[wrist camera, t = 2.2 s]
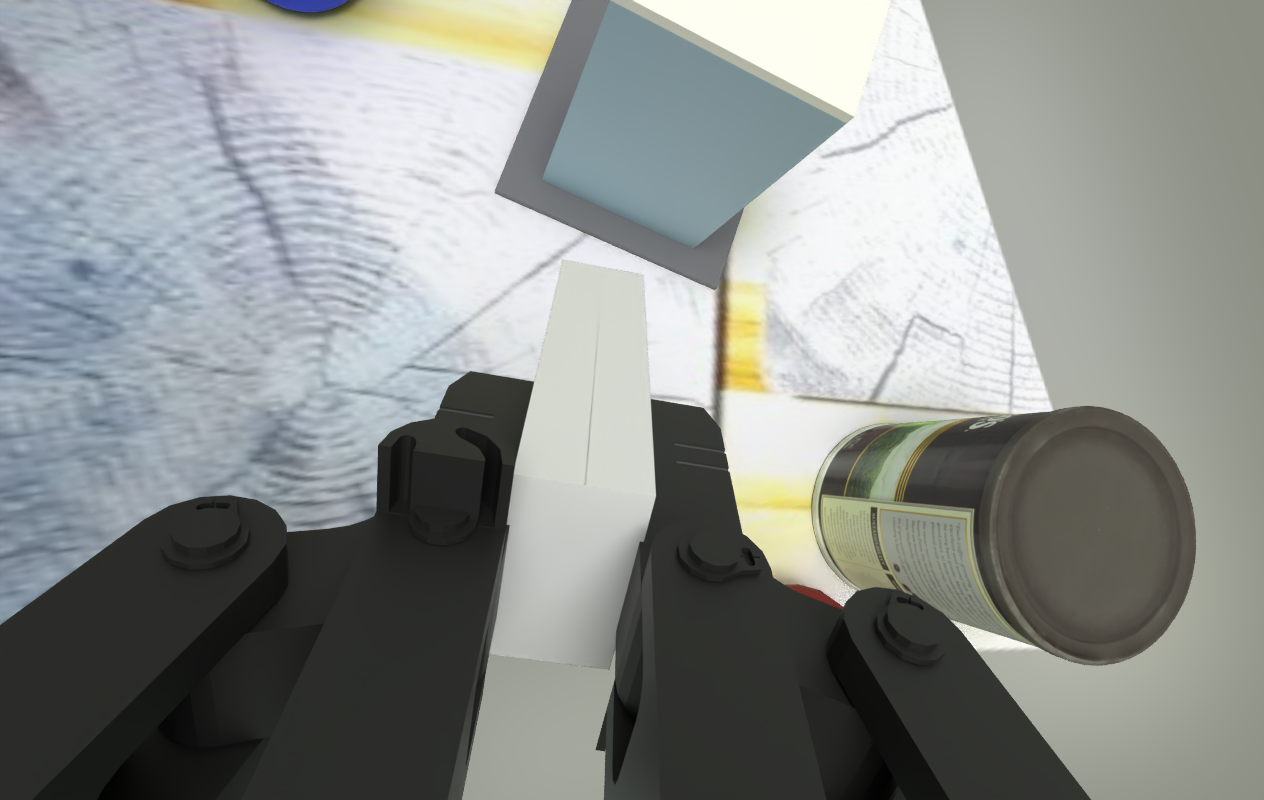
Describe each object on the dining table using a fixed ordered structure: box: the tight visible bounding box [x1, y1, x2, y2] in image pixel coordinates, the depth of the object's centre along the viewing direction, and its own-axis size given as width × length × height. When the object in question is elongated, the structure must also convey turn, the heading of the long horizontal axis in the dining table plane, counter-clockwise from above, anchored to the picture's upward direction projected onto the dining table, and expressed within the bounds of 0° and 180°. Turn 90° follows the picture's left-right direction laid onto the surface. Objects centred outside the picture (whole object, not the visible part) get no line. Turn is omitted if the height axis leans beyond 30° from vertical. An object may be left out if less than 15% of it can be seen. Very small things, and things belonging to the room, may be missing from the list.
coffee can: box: [812, 406, 1196, 665], centre depth 36 cm, size 10×10×14 cm
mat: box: [495, 0, 744, 289], centre depth 41 cm, size 24×13×1 cm, turn 160°
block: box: [542, 0, 891, 249], centre depth 32 cm, size 5×9×16 cm, turn 70°
